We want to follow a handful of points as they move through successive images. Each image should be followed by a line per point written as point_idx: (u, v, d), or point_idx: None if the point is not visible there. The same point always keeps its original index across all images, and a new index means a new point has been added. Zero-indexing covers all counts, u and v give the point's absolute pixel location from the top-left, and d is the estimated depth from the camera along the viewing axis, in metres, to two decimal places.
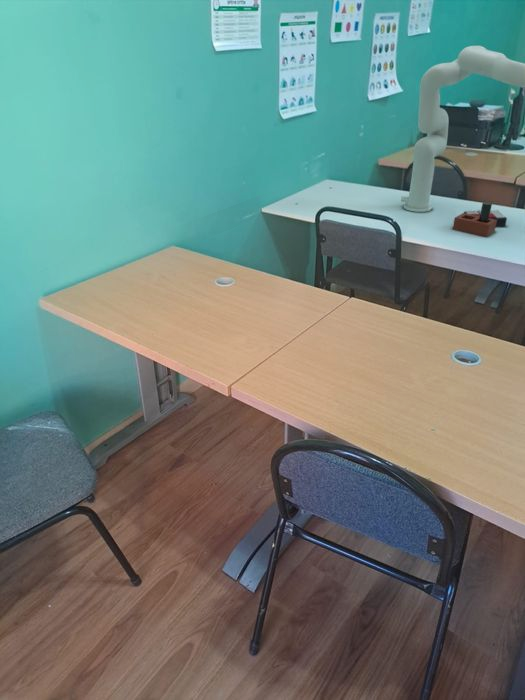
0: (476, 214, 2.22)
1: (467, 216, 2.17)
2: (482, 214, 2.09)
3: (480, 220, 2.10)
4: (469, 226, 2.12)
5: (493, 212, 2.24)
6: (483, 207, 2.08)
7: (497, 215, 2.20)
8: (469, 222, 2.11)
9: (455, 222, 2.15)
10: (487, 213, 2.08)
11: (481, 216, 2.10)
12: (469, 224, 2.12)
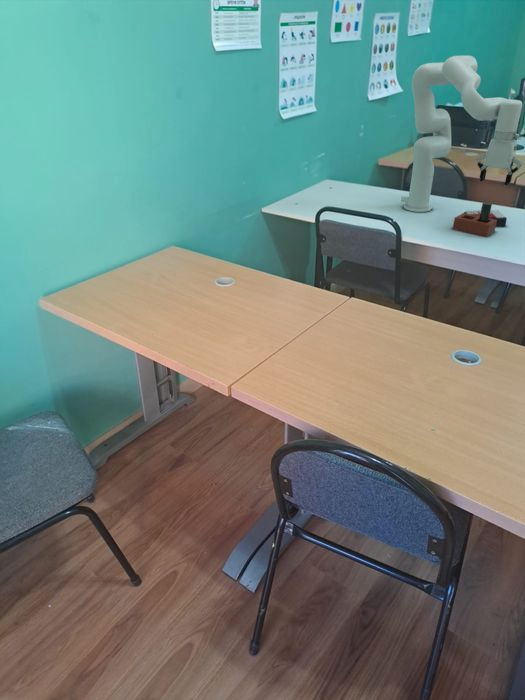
0: (476, 214, 2.22)
1: (467, 216, 2.17)
2: (482, 214, 2.09)
3: (480, 220, 2.10)
4: (469, 226, 2.12)
5: (493, 212, 2.24)
6: (483, 207, 2.08)
7: (497, 215, 2.20)
8: (469, 222, 2.11)
9: (455, 222, 2.15)
10: (487, 213, 2.08)
11: (481, 216, 2.10)
12: (469, 224, 2.12)
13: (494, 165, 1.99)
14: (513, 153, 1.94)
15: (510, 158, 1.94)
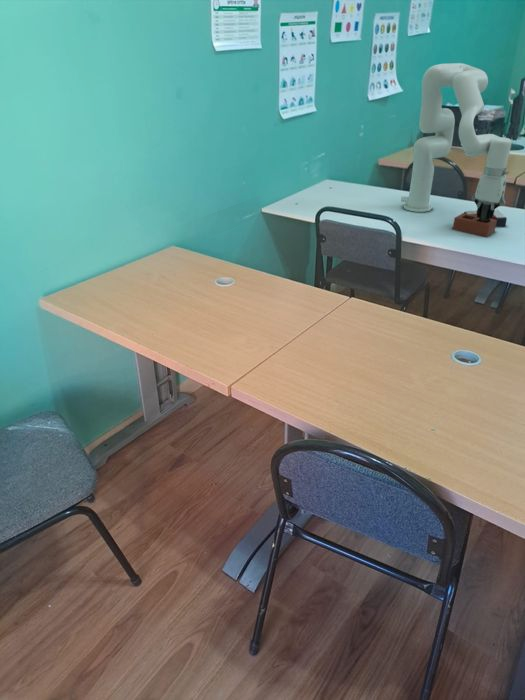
0: None
1: (467, 216, 2.17)
2: (482, 214, 2.09)
3: (480, 220, 2.10)
4: (469, 226, 2.12)
5: None
6: (483, 207, 2.08)
7: (497, 215, 2.20)
8: (469, 222, 2.11)
9: (455, 222, 2.15)
10: (487, 213, 2.08)
11: (481, 216, 2.10)
12: (469, 224, 2.12)
13: (484, 199, 2.05)
14: (502, 188, 2.01)
15: (500, 193, 2.01)
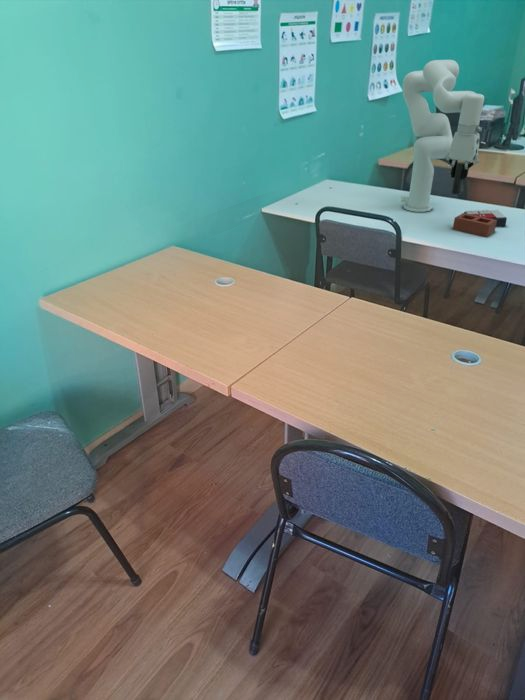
0: (476, 214, 2.22)
1: (467, 216, 2.17)
2: (456, 174, 2.06)
3: (454, 180, 2.08)
4: (469, 226, 2.12)
5: (493, 212, 2.24)
6: (457, 167, 2.05)
7: (497, 215, 2.20)
8: (469, 222, 2.11)
9: (455, 222, 2.15)
10: (461, 173, 2.05)
11: (455, 176, 2.07)
12: (469, 224, 2.12)
13: (458, 158, 2.03)
14: (476, 146, 1.98)
15: (473, 151, 1.98)
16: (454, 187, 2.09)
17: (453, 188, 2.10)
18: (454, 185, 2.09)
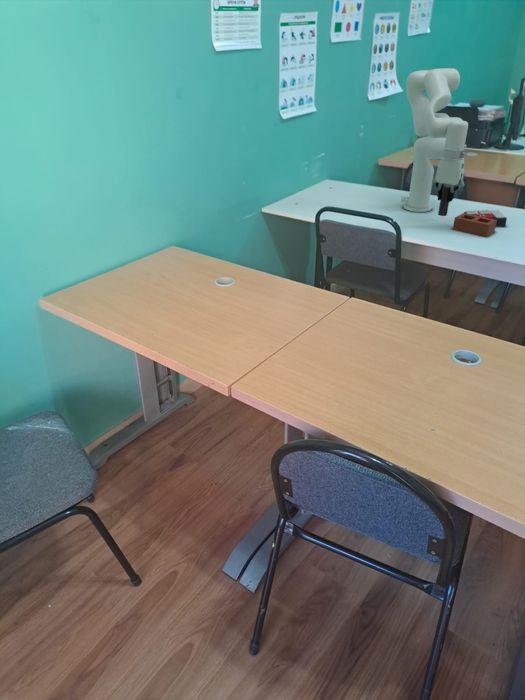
0: (476, 214, 2.22)
1: (467, 216, 2.17)
2: (442, 196, 2.13)
3: (441, 203, 2.14)
4: (469, 226, 2.12)
5: (493, 212, 2.24)
6: (443, 190, 2.11)
7: (497, 215, 2.20)
8: (469, 222, 2.11)
9: (455, 222, 2.15)
10: (447, 195, 2.12)
11: (442, 198, 2.13)
12: (469, 224, 2.12)
13: (444, 181, 2.09)
14: (461, 170, 2.05)
15: (458, 175, 2.05)
16: (440, 209, 2.15)
17: (440, 210, 2.16)
18: (441, 207, 2.15)
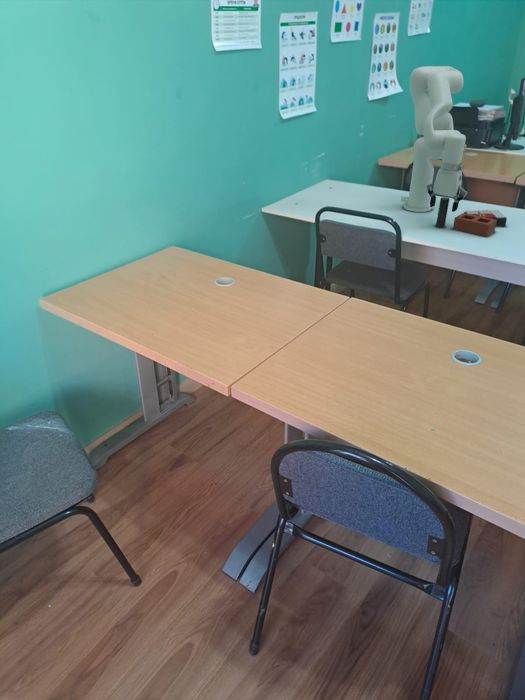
0: (476, 214, 2.22)
1: (467, 216, 2.17)
2: (440, 209, 2.15)
3: (439, 215, 2.17)
4: (469, 226, 2.12)
5: (493, 212, 2.24)
6: (441, 202, 2.14)
7: (497, 215, 2.20)
8: (469, 222, 2.11)
9: (455, 222, 2.15)
10: (445, 208, 2.14)
11: (439, 211, 2.16)
12: (469, 224, 2.12)
13: (442, 193, 2.12)
14: (458, 183, 2.07)
15: (456, 187, 2.08)
16: (438, 221, 2.18)
17: (438, 222, 2.19)
18: (438, 219, 2.18)
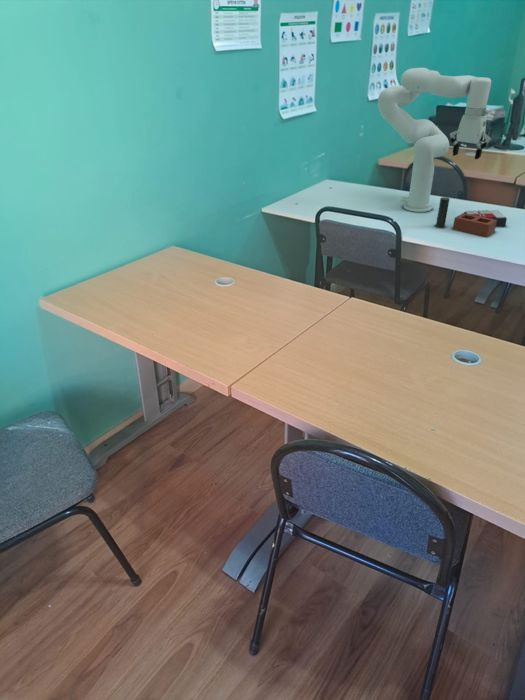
0: (476, 214, 2.22)
1: (467, 216, 2.17)
2: (440, 209, 2.15)
3: (439, 215, 2.17)
4: (469, 226, 2.12)
5: (493, 212, 2.24)
6: (441, 202, 2.14)
7: (497, 215, 2.20)
8: (469, 222, 2.11)
9: (455, 222, 2.15)
10: (445, 208, 2.14)
11: (439, 211, 2.16)
12: (469, 224, 2.12)
13: (465, 140, 2.10)
14: (482, 128, 2.05)
15: (479, 133, 2.06)
16: (438, 221, 2.18)
17: (438, 222, 2.19)
18: (438, 219, 2.18)
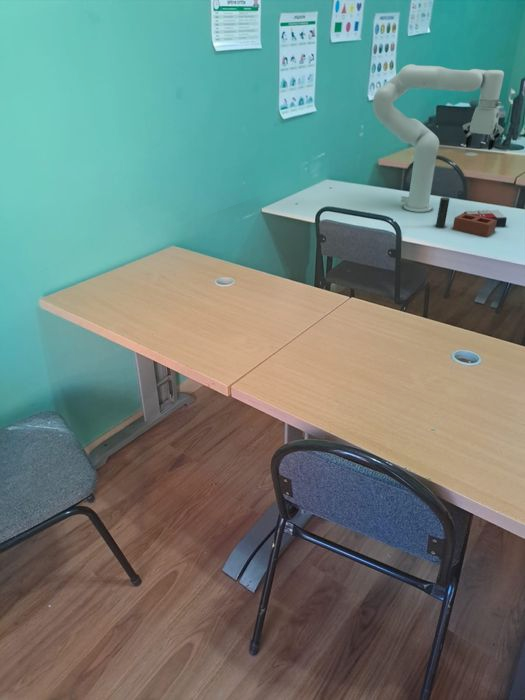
0: (476, 214, 2.22)
1: (467, 216, 2.17)
2: (440, 209, 2.15)
3: (439, 215, 2.17)
4: (469, 226, 2.12)
5: (493, 212, 2.24)
6: (441, 202, 2.14)
7: (497, 215, 2.20)
8: (469, 222, 2.11)
9: (455, 222, 2.15)
10: (445, 208, 2.14)
11: (439, 211, 2.16)
12: (469, 224, 2.12)
13: (478, 131, 2.16)
14: (496, 120, 2.12)
15: (493, 124, 2.12)
16: (438, 221, 2.18)
17: (438, 222, 2.19)
18: (438, 219, 2.18)
